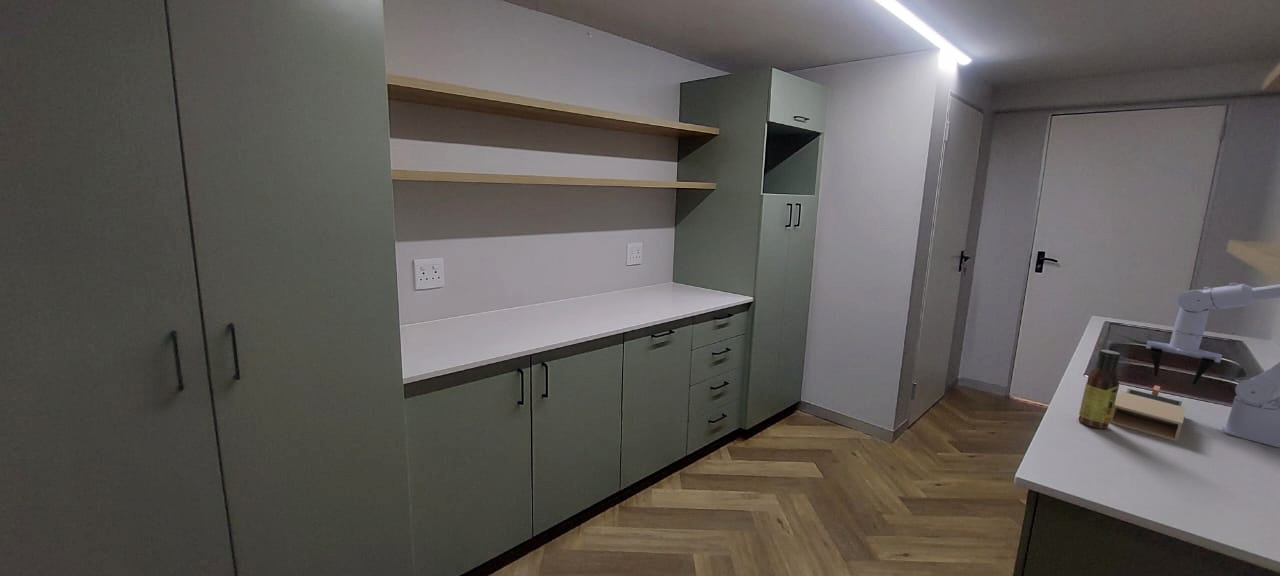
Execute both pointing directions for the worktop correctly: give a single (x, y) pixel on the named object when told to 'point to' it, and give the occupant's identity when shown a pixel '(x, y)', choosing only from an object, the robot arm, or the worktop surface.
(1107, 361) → the sauce bottle
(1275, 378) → the robot arm
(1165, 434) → the sleeve
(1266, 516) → the worktop surface
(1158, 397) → the tray
